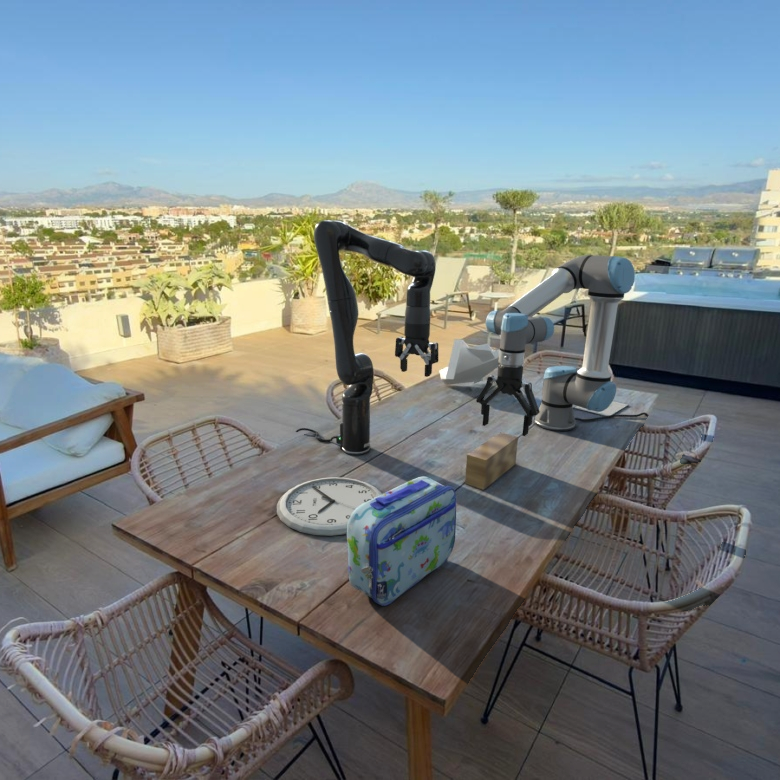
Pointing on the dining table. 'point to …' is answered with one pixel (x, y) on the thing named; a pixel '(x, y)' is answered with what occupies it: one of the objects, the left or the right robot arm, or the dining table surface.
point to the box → (491, 460)
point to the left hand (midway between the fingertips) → (415, 373)
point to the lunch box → (400, 538)
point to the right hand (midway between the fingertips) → (504, 429)
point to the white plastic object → (470, 363)
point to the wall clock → (324, 504)
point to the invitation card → (610, 410)
